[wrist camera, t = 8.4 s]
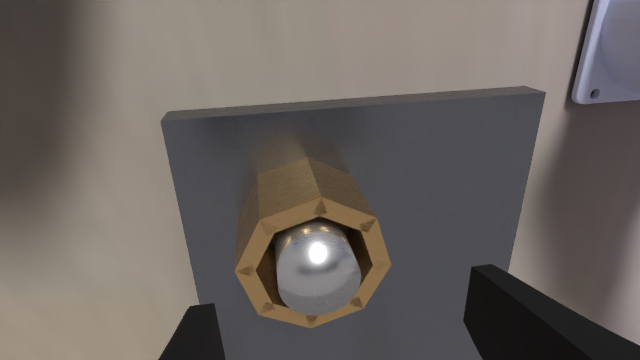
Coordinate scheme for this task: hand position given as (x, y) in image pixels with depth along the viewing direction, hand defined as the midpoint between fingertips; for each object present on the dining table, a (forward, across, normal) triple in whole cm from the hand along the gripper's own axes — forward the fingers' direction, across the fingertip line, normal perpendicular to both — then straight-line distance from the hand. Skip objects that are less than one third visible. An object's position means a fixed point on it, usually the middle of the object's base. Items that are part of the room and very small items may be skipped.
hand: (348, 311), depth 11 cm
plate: (+9, -3, +5) cm, 11 cm away
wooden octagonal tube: (+8, 0, +1) cm, 8 cm away
